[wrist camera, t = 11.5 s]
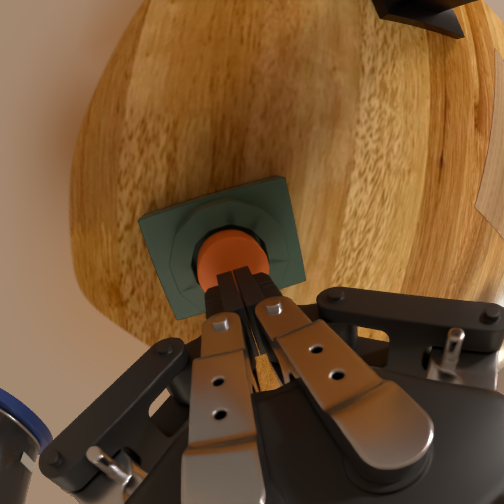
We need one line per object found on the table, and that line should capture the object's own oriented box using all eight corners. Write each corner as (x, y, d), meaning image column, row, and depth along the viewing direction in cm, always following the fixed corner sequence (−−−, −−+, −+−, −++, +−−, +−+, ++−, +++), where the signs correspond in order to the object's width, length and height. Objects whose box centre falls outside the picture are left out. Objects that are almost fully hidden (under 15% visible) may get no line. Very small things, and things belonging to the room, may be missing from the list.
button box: (177, 308, 19) (175, 336, 16) (142, 215, 17) (130, 227, 13) (298, 271, 20) (317, 292, 17) (277, 175, 17) (295, 178, 14)
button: (208, 298, 16) (210, 313, 14) (188, 240, 15) (187, 250, 13) (268, 279, 16) (276, 292, 14) (253, 220, 15) (260, 228, 13)
